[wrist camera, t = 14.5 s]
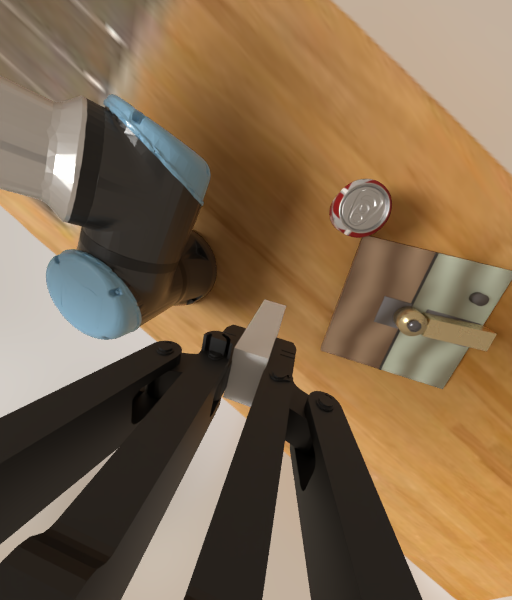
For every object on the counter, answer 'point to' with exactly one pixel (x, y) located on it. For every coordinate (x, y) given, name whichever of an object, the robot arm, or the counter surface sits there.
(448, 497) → the counter surface
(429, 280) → the latch board
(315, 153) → the counter surface
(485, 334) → the swing bar
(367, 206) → the soda can
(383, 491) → the counter surface
